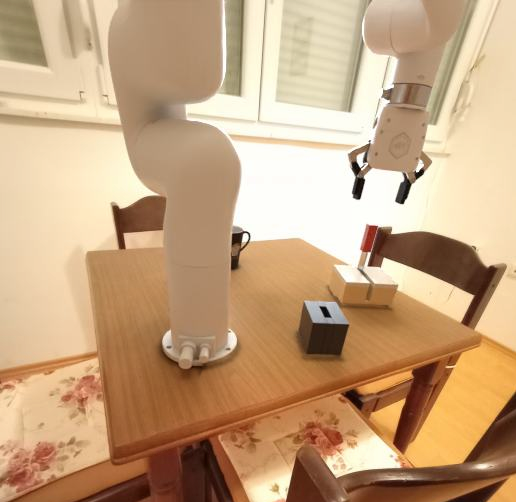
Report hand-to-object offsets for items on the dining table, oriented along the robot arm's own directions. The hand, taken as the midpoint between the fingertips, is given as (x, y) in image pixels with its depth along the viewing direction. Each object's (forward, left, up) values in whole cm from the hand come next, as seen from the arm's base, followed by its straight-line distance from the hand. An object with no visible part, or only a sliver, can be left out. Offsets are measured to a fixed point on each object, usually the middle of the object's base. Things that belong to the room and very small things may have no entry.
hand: (377, 201), depth 67 cm
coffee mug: (+14, +31, -22) cm, 40 cm away
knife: (0, 0, -20) cm, 20 cm away
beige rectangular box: (-3, 0, -21) cm, 21 cm away
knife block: (-25, +15, -21) cm, 36 cm away
